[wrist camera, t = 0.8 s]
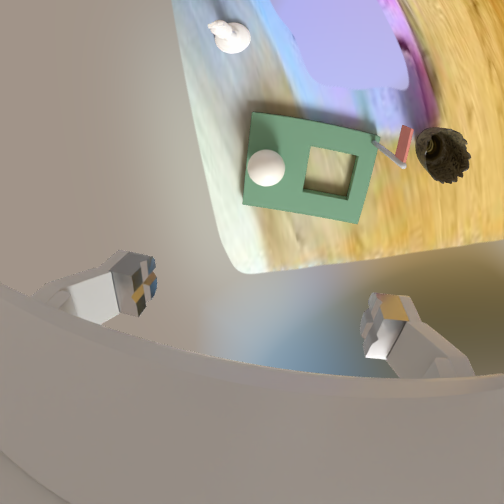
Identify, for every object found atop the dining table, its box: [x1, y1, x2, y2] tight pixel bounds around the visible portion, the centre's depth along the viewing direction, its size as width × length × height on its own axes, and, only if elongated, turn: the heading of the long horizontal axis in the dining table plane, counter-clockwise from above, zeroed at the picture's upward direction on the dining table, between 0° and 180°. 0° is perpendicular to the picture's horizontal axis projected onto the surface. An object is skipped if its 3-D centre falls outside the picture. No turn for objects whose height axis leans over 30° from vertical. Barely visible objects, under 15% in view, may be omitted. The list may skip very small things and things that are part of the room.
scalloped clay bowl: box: [416, 127, 471, 184], centre depth 31 cm, size 8×7×8 cm
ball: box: [247, 149, 285, 186], centre depth 37 cm, size 5×5×5 cm
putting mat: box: [243, 112, 414, 224], centre depth 33 cm, size 17×18×14 cm
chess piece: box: [208, 20, 251, 53], centre depth 26 cm, size 5×5×10 cm
